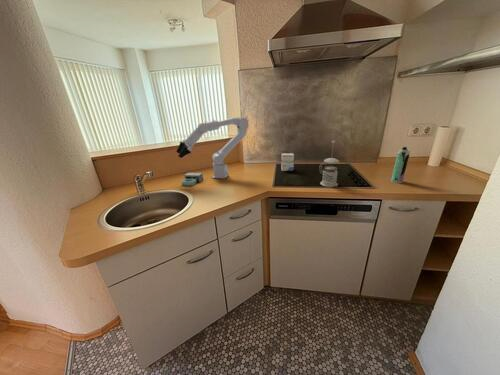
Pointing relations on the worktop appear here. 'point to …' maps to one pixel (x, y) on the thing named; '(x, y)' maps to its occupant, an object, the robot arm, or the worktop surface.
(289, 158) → the ink box
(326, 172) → the french press
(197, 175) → the low shelf
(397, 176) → the spray can
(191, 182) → the tray shell
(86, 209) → the worktop surface
